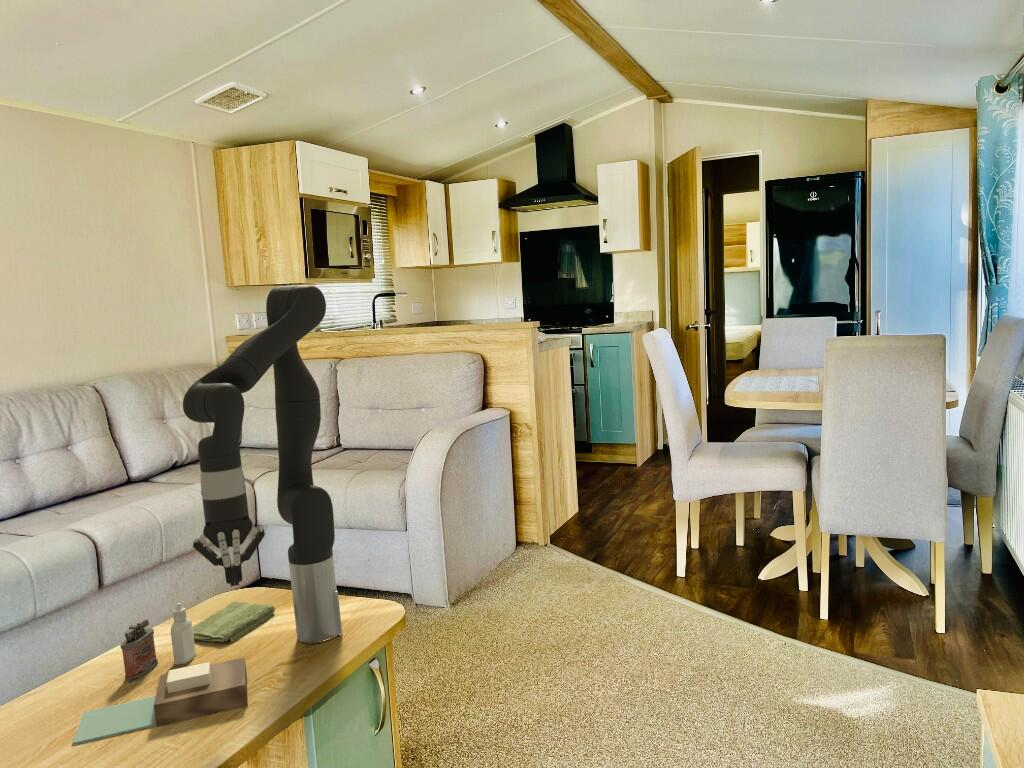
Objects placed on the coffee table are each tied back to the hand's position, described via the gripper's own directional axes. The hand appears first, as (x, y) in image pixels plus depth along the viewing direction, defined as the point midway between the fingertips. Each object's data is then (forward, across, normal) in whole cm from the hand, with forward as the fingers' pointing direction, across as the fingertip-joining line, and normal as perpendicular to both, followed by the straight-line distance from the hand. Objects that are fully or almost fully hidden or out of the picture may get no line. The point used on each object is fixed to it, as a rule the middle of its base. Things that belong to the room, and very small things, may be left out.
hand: (234, 584), depth 141 cm
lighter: (+21, +20, -19) cm, 35 cm away
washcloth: (+21, +3, -34) cm, 40 cm away
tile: (+17, +10, 0) cm, 19 cm away
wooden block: (+21, +8, 0) cm, 22 cm away
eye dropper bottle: (+21, +12, -21) cm, 32 cm away
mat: (+21, +22, 0) cm, 30 cm away
